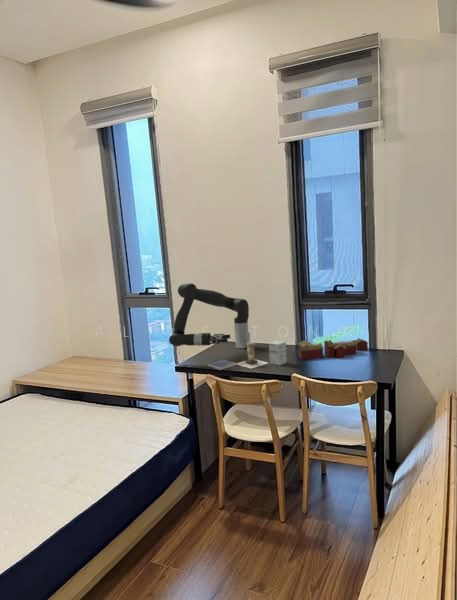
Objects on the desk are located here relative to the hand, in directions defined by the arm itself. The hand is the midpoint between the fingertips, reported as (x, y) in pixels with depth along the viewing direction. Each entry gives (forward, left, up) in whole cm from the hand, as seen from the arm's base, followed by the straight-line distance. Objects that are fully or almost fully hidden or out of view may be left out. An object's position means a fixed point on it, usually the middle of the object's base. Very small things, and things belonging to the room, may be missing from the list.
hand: (228, 338), depth 268 cm
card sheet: (-8, +11, -15) cm, 20 cm away
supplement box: (-19, +22, -16) cm, 33 cm away
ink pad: (+6, 0, -15) cm, 17 cm away
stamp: (-7, +11, -15) cm, 20 cm away
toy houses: (-55, +35, -16) cm, 67 cm away
